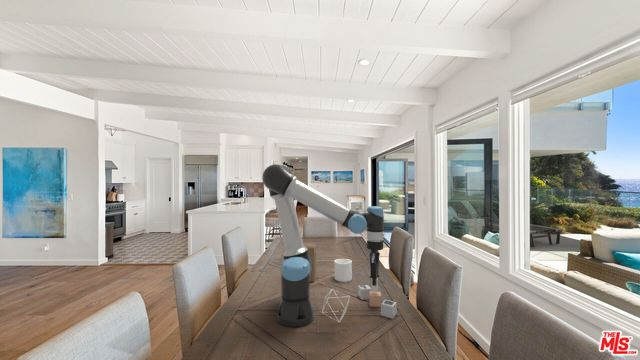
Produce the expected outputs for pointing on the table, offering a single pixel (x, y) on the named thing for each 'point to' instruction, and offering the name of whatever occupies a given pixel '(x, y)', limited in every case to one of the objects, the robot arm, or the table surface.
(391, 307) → the marked cube
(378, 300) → the plain cube
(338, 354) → the table surface
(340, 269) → the mug
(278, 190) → the robot arm
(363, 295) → the marked cube
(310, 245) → the block
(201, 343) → the table surface
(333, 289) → the geometric polyhedron
